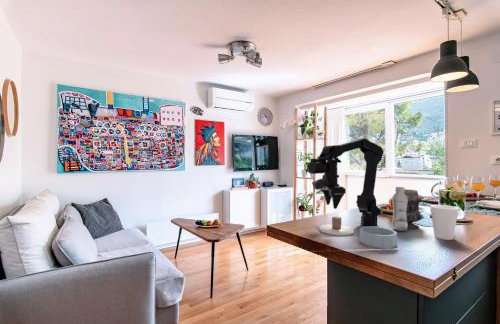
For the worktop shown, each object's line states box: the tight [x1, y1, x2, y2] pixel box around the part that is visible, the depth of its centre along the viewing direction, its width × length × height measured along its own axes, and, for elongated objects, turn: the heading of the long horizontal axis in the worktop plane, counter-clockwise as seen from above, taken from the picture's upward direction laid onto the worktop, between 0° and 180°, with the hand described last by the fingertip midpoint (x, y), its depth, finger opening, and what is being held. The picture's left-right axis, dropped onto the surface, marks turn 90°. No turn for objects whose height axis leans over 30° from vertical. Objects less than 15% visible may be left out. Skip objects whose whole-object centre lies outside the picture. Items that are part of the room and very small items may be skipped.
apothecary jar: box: [404, 188, 423, 230], centre depth 125 cm, size 12×12×18 cm
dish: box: [359, 226, 398, 250], centre depth 101 cm, size 13×13×5 cm
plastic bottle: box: [391, 186, 408, 232], centre depth 118 cm, size 6×7×20 cm
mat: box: [313, 225, 360, 238], centre depth 116 cm, size 16×16×1 cm
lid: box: [319, 216, 355, 237], centre depth 116 cm, size 15×15×6 cm
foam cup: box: [430, 204, 459, 241], centre depth 108 cm, size 10×9×13 cm
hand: (331, 206), depth 118 cm, fingers open, 9 cm apart
